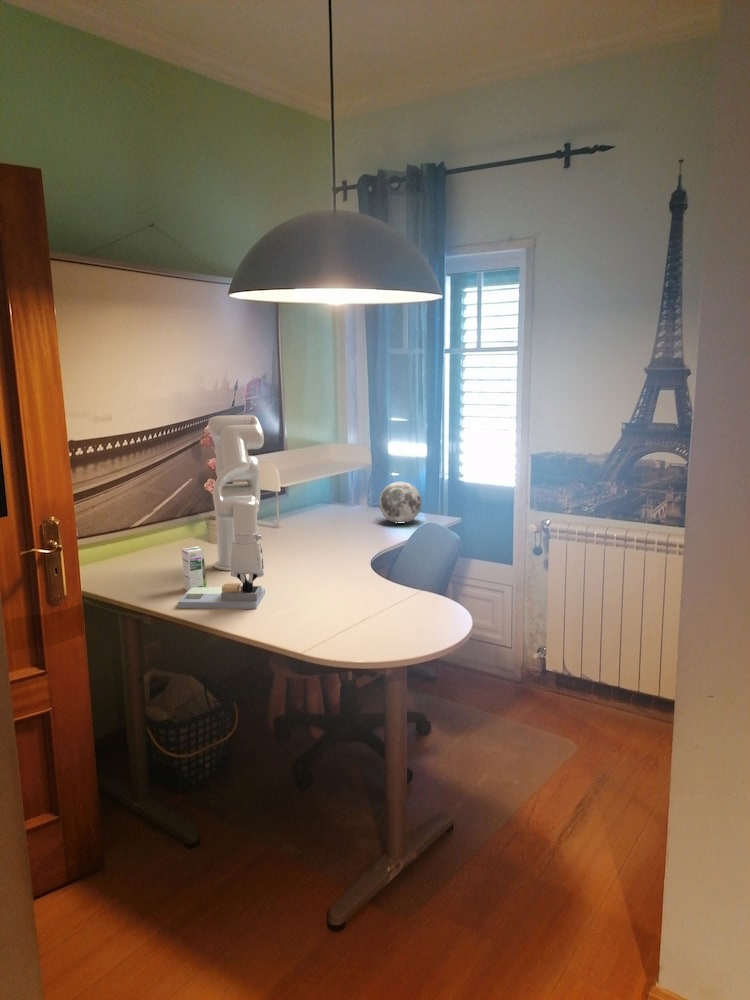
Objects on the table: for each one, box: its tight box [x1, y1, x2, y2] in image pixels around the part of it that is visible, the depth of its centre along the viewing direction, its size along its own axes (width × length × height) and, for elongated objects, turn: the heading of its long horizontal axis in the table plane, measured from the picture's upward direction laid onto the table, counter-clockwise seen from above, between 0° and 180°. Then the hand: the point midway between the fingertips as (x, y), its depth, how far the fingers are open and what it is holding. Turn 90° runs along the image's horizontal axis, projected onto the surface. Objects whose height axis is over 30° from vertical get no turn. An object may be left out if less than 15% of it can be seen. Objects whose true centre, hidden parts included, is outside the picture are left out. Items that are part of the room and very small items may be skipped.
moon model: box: [378, 481, 422, 524], centre depth 348 cm, size 20×20×20 cm
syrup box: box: [181, 545, 207, 592], centre depth 251 cm, size 6×6×14 cm
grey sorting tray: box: [177, 585, 266, 610], centre depth 240 cm, size 15×25×4 cm, turn 88°
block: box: [221, 582, 242, 593], centre depth 238 cm, size 5×5×4 cm
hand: (248, 593), depth 237 cm, fingers closed
